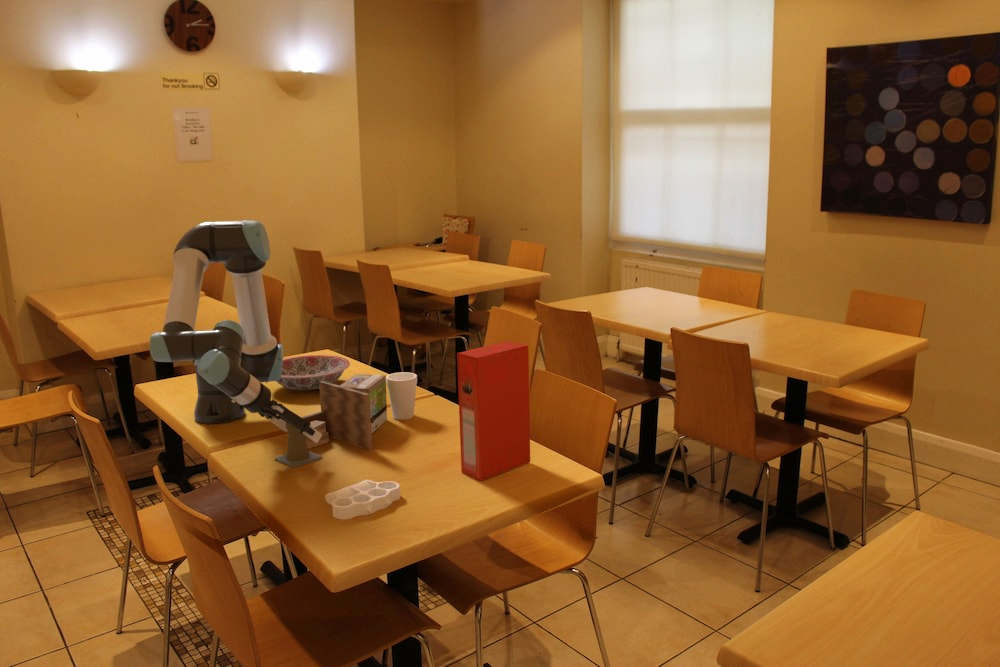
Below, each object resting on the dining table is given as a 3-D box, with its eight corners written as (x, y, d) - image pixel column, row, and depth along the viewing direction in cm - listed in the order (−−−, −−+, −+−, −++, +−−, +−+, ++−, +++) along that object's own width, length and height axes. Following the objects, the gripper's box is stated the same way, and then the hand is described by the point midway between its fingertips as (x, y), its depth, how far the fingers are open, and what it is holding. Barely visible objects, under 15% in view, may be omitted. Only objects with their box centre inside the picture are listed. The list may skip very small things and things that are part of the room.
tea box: (371, 436, 240) (368, 388, 236) (339, 434, 242) (335, 386, 238) (388, 419, 254) (386, 373, 251) (357, 418, 256) (354, 372, 253)
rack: (293, 443, 235) (288, 390, 231) (326, 432, 243) (322, 380, 240) (339, 461, 221) (335, 404, 218) (372, 448, 230) (369, 394, 226)
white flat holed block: (375, 485, 207) (412, 502, 196) (313, 508, 194) (349, 527, 184) (375, 472, 206) (412, 488, 196) (312, 494, 193) (349, 513, 183)
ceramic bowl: (367, 380, 297) (366, 359, 295) (318, 403, 271) (316, 380, 269) (301, 372, 308) (299, 352, 307) (248, 394, 283) (246, 372, 281)
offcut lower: (300, 445, 234) (299, 435, 233) (320, 439, 239) (320, 429, 238) (308, 449, 231) (307, 439, 231) (328, 442, 236) (328, 432, 236)
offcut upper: (301, 436, 233) (300, 426, 232) (314, 429, 238) (314, 420, 237) (312, 438, 231) (312, 428, 230) (326, 431, 236) (325, 421, 236)
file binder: (460, 472, 212) (457, 352, 205) (509, 455, 224) (507, 340, 216) (481, 481, 206) (478, 358, 199) (530, 463, 218) (529, 345, 211)
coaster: (274, 459, 223) (274, 457, 223) (302, 450, 230) (302, 448, 229) (294, 467, 217) (294, 465, 217) (322, 457, 224) (321, 455, 224)
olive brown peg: (289, 462, 219) (286, 423, 217) (284, 455, 225) (281, 417, 222) (312, 458, 222) (309, 419, 219) (306, 451, 227) (303, 413, 225)
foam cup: (382, 419, 254) (380, 379, 251) (397, 410, 263) (395, 371, 260) (409, 422, 251) (407, 381, 248) (423, 413, 259) (422, 373, 256)
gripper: (215, 396, 216) (269, 435, 230) (270, 415, 200) (324, 456, 214) (232, 372, 219) (284, 412, 233) (287, 389, 203) (339, 431, 217)
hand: (303, 433), depth 224 cm, fingers open, 13 cm apart
